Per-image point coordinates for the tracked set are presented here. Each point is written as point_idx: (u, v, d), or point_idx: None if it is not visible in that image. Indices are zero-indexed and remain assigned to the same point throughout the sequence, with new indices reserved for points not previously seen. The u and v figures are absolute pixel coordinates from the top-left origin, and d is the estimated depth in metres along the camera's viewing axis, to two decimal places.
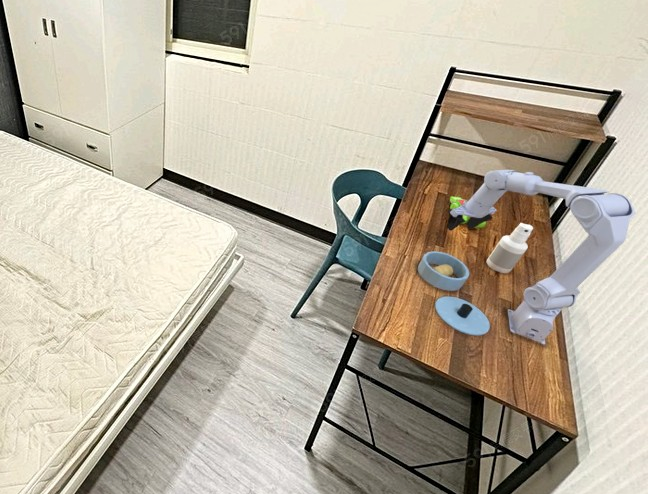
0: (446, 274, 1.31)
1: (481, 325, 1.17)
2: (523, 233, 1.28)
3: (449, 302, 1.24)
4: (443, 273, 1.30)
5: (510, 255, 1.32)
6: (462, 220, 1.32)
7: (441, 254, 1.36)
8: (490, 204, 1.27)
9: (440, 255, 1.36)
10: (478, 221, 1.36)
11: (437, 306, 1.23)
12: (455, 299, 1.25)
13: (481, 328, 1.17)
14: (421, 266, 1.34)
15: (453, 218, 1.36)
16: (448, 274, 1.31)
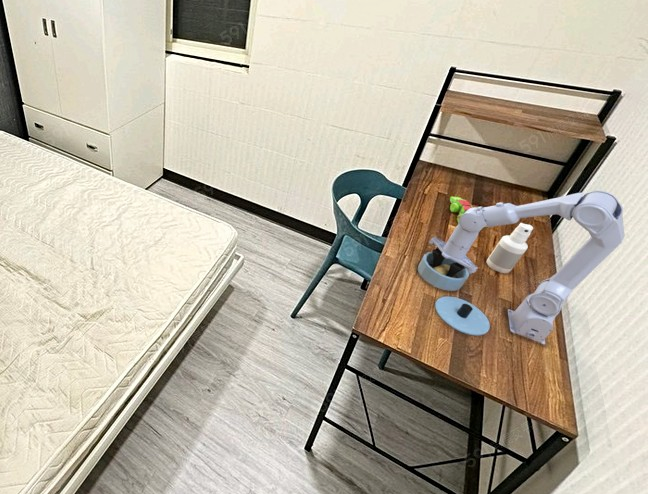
0: None
1: (481, 325, 1.17)
2: (523, 233, 1.28)
3: (449, 302, 1.24)
4: (443, 273, 1.30)
5: (510, 255, 1.32)
6: None
7: None
8: (471, 245, 1.23)
9: None
10: (443, 258, 1.33)
11: (437, 306, 1.23)
12: (455, 299, 1.25)
13: (481, 328, 1.17)
14: (421, 266, 1.34)
15: None
16: None
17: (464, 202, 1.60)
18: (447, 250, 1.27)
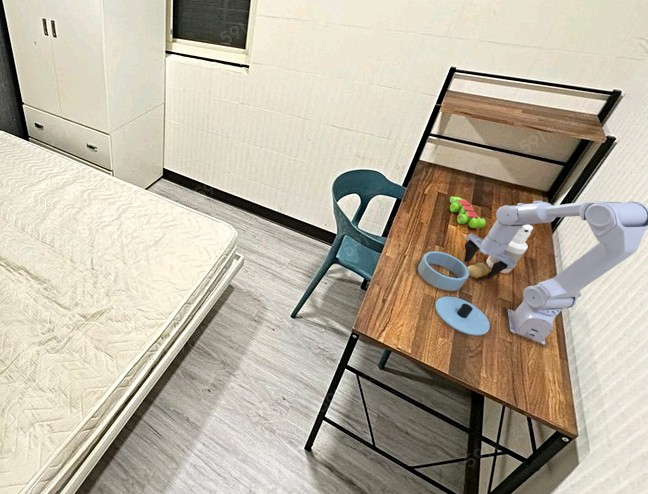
0: (482, 273, 1.32)
1: (481, 325, 1.17)
2: (523, 233, 1.28)
3: (449, 302, 1.24)
4: (479, 272, 1.32)
5: (510, 255, 1.32)
6: None
7: (441, 254, 1.36)
8: (506, 241, 1.23)
9: (440, 255, 1.36)
10: (475, 251, 1.35)
11: (437, 306, 1.23)
12: (455, 299, 1.25)
13: (481, 328, 1.17)
14: (421, 266, 1.34)
15: None
16: (483, 273, 1.33)
17: (464, 202, 1.60)
18: (486, 246, 1.28)
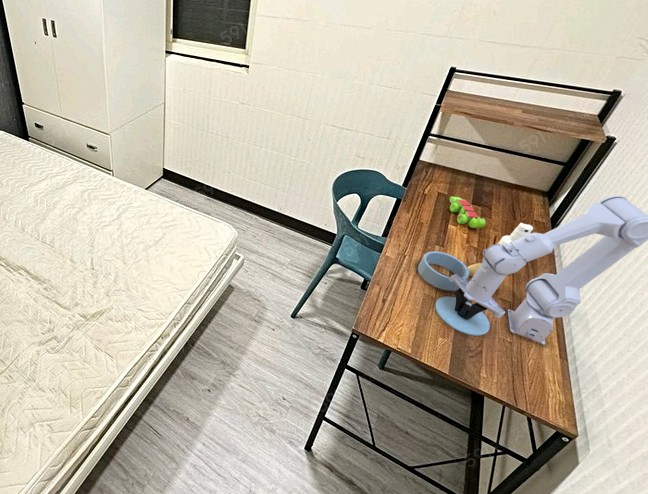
0: None
1: (481, 325, 1.17)
2: (523, 233, 1.28)
3: (449, 302, 1.24)
4: None
5: None
6: None
7: (441, 254, 1.36)
8: None
9: (440, 255, 1.36)
10: (467, 299, 1.19)
11: (437, 306, 1.23)
12: (455, 299, 1.25)
13: (482, 328, 1.17)
14: (421, 266, 1.34)
15: None
16: None
17: (464, 202, 1.60)
18: (470, 291, 1.14)
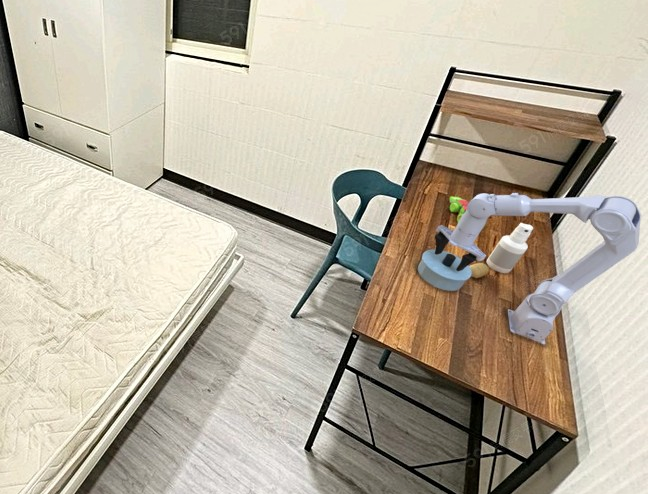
0: (482, 273, 1.32)
1: (464, 272, 1.28)
2: (523, 233, 1.28)
3: (435, 254, 1.34)
4: (479, 272, 1.32)
5: (510, 255, 1.32)
6: None
7: None
8: (479, 232, 1.20)
9: None
10: (446, 243, 1.31)
11: (424, 257, 1.33)
12: None
13: (464, 275, 1.27)
14: (421, 266, 1.34)
15: None
16: (483, 273, 1.33)
17: (464, 202, 1.60)
18: (455, 238, 1.24)
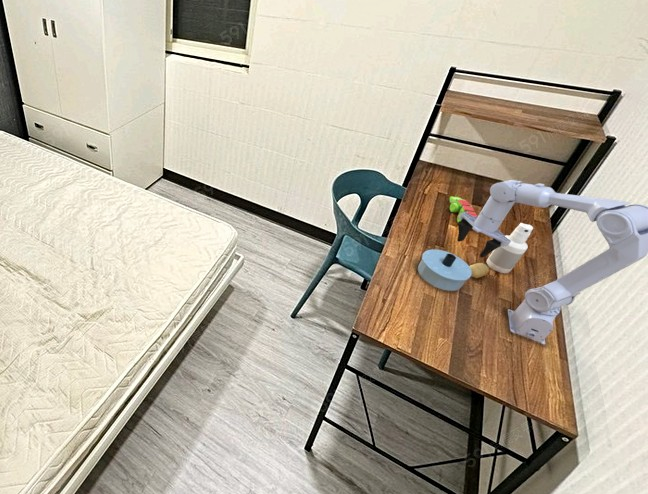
0: (482, 273, 1.32)
1: (464, 272, 1.28)
2: (523, 233, 1.28)
3: (435, 254, 1.34)
4: (479, 272, 1.32)
5: (510, 255, 1.32)
6: None
7: None
8: (502, 218, 1.20)
9: None
10: (469, 230, 1.31)
11: (424, 257, 1.33)
12: (441, 251, 1.35)
13: (464, 275, 1.27)
14: (421, 266, 1.34)
15: None
16: (483, 273, 1.33)
17: (464, 202, 1.60)
18: (479, 224, 1.24)
